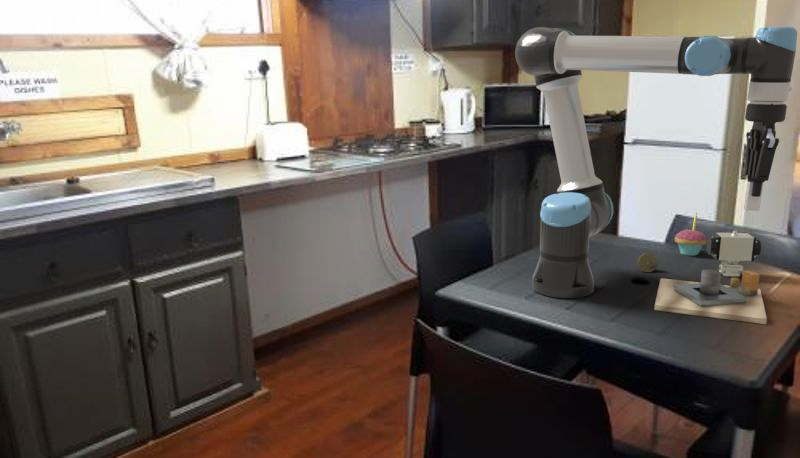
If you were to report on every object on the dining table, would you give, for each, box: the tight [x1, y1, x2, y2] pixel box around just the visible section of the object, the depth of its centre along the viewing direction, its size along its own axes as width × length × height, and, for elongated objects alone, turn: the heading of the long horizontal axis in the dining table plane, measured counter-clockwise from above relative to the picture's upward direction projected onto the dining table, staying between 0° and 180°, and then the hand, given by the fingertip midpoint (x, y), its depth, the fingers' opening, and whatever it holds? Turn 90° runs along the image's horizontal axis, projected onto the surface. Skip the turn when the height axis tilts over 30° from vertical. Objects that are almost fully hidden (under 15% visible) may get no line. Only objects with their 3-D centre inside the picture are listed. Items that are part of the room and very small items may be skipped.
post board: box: [654, 269, 768, 325], centre depth 143 cm, size 22×20×7 cm
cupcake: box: [674, 212, 708, 257], centre depth 180 cm, size 9×8×12 cm
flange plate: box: [674, 270, 760, 306], centre depth 144 cm, size 16×11×5 cm, turn 97°
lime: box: [637, 252, 659, 273], centre depth 167 cm, size 4×5×5 cm
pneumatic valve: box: [706, 230, 762, 278], centre depth 161 cm, size 6×12×12 cm, turn 79°
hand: (751, 209), depth 139 cm, fingers closed
